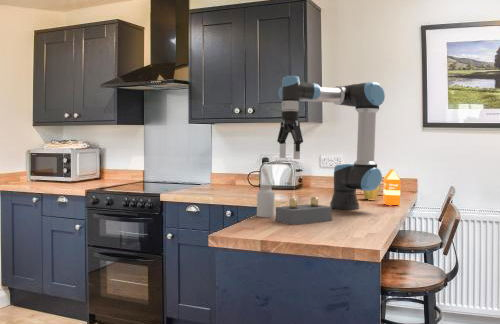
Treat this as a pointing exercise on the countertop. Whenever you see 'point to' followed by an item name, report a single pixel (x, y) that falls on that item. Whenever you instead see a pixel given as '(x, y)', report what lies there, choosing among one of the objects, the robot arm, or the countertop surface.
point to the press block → (303, 214)
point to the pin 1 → (293, 203)
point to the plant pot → (371, 193)
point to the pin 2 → (314, 201)
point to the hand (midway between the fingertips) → (289, 158)
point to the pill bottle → (265, 201)
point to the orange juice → (391, 189)
